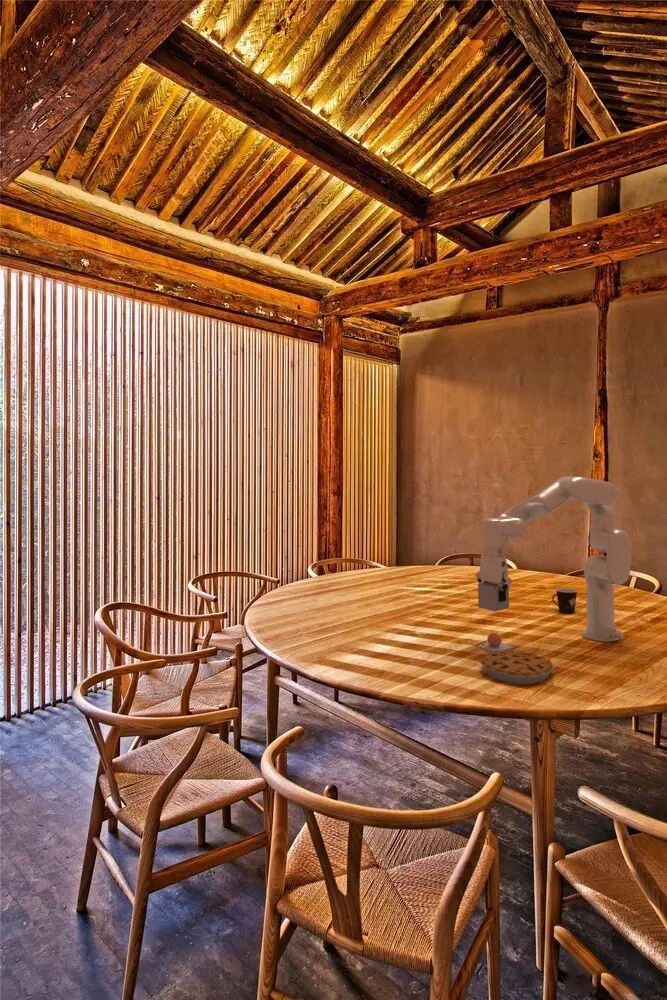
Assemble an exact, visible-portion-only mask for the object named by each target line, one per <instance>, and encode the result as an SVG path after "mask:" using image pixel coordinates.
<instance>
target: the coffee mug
mask: <svg viewBox="0 0 667 1000" xmlns="http://www.w3.org/2000/svg"><path fill="white" fill-rule="evenodd" d="M577 593H578V590H577V589H574V588H567V587H565V588H564V587H562V588H561V587H560V588H557V589H556V593H555V594H553V595H552V597H551V600H552V602H553V604H555V606H557V607H558V612H559V613H561V614H566V615H571V614H575V612H576V611H575V610H576V601H577ZM555 597H556V598H557V602H556V601H555V600H554V598H555Z"/></svg>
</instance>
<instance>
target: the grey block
mask: <svg viewBox="0 0 667 1000" xmlns="http://www.w3.org/2000/svg"><path fill="white" fill-rule="evenodd" d="M501 585H502V584H501ZM502 587H503V585H502ZM509 588H510V587H509ZM509 588H508V590H506V601H503V602H499V591H500V589H499V586H498V584H495V583H490V582H486V583H481V584H479V583H477V595H478V596H477V601H478V604H477V605H478V606H477V607H478V608H479V609H483V610H486V611H490V612H494V613H495V612H499V611H503V610H507V609H510V589H509Z"/></svg>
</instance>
